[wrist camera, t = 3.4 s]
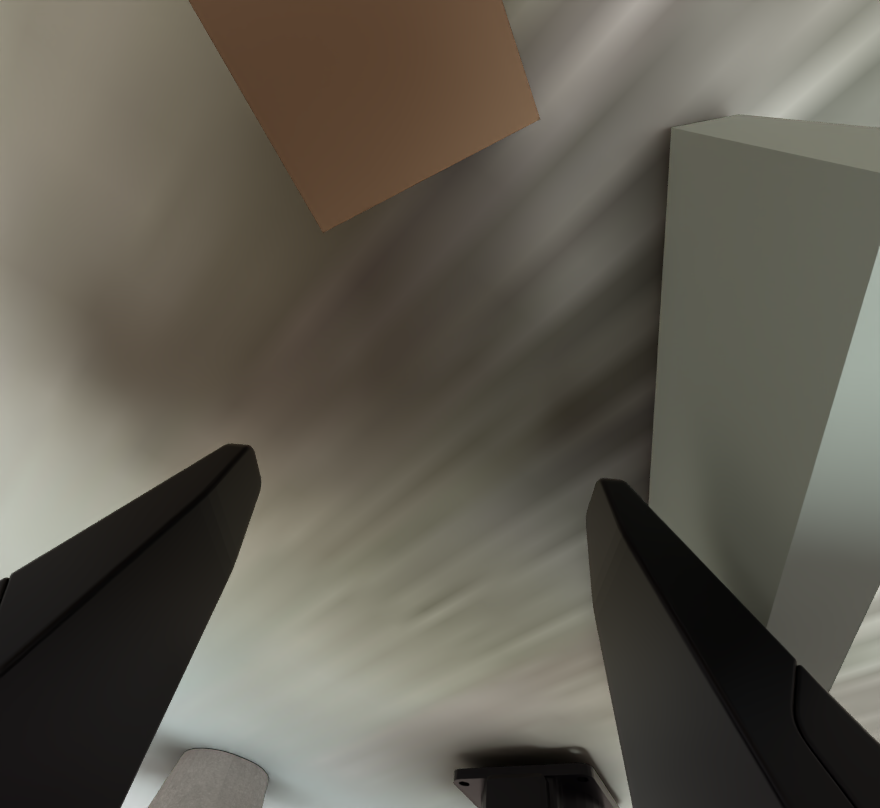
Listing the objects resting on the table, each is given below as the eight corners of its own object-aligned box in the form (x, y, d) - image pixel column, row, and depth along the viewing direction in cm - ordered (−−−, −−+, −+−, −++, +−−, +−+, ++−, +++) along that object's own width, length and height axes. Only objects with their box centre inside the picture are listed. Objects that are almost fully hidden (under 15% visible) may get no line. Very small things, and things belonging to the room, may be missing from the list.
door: (674, 628, 15) (747, 865, 10) (640, 627, 15) (697, 860, 10) (738, 114, 8) (1084, 148, 3) (671, 127, 8) (897, 178, 3)
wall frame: (717, 687, 17) (793, 908, 12) (658, 693, 18) (710, 904, 13) (476, -36, 7) (418, -262, 3) (366, 38, 8) (166, -37, 3)
